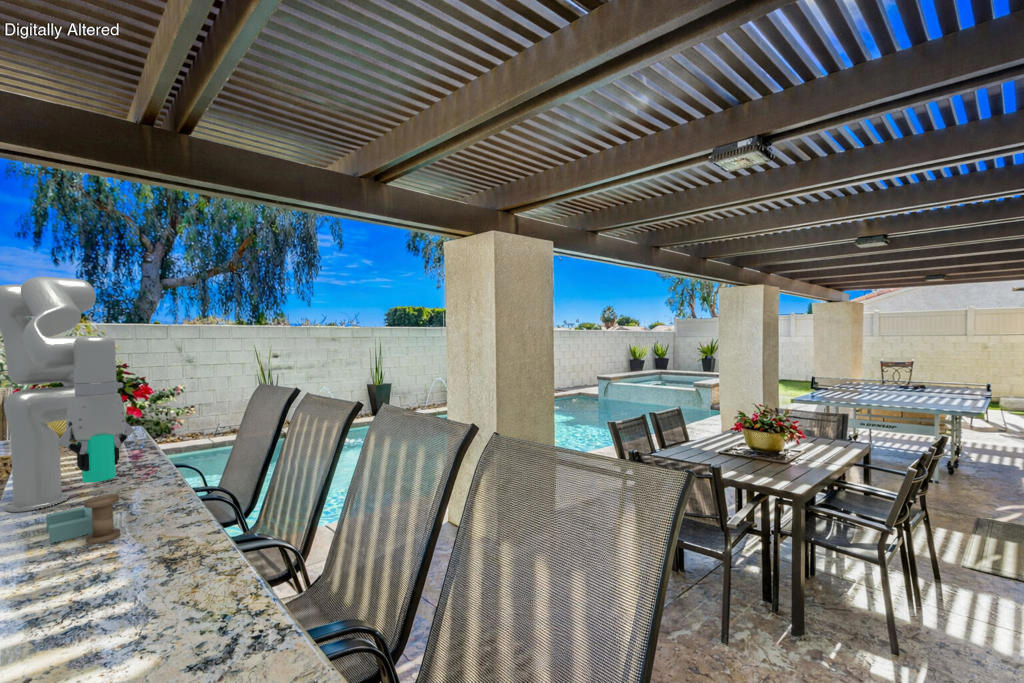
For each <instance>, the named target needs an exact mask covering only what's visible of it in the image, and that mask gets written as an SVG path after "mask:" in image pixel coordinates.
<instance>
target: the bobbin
mask: <svg viewBox="0 0 1024 683" xmlns="http://www.w3.org/2000/svg"><path fill="white" fill-rule="evenodd" d="M119 501H120V494H119V493H118V494H117V493H111V494H109V493H108V494H102V495H97V496H94V497H90V498H87V499H85V500H84V501H83V507H86V508H92V530H93V533H91V534H89V535H85V543H86V544H87V543H88V545H95V544H96V545H97V543H98V544H102V543H106V542H107V543H108V542H110V541H113V540H115V539H117V538H119V537H120V536H121V529H120V528H116V527H115V528H114V508H113V506H114V504H116V503H118V502H119Z"/></svg>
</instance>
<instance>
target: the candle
mask: <svg viewBox="0 0 1024 683" xmlns="http://www.w3.org/2000/svg"><path fill="white" fill-rule="evenodd" d="M114 448H115V444H114V435H101V436H93V437H91V438H90V440H88V441H87V451H86V453H85V454H89V471H82V470H81V479H82V483H99V482H104V481H109V480H112V479H114V478H115V477H116V476H117V471H116V470H117V469H116V465H115V453H114Z"/></svg>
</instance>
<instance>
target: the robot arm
mask: <svg viewBox="0 0 1024 683" xmlns="http://www.w3.org/2000/svg"><path fill="white" fill-rule="evenodd" d="M96 296H97V295H96V291H95V289H94V287H93V285H91V284H90V282H89V281H87V280H85V279H81V278H69V277H68V278H67V277H66V278H65V277H53V276H36V277H32V278H29V279H27V280H25V281H24V282H23V283H22V284H20V283H19V284H4V285H2V284H1V285H0V334H1V336H2V341H3V347H4V356H5V363H6V369H7V370H6V371H7V374H8V377H9V379H10V381H11V382H12V383H14V384H16V385H22V386H23V385H44V384H45V385H46V384H54V383H55V384H56V383H60V384H62V385H63V386H56V387H55V386H54V387H50V386H49V387H39V388H28V389H23V390H18V391H15V392H13V393H11V394H9V395H8V396H7V397H6V398H5V400H4V403H3V410H4V414H5V418H6V421H7V425H8V426H7V427H8V430H9V437H10V438H9V441H10V454H11V456H10V457H11V475H12V476H11V477H12V478H11V479H12V497H13V498H12V499H13V501H10V502H8V503H7V504H6V505H5V506H4V510H5V511H6V512H10V513H18V512H19V513H21V512H29V511H36V510H40V509H39V508H41V509H45V508H44V507H46V508H48V507H47V506H50V507H52V506H51V505H53V504H56V503H59V502H62V501H65V500H66V501H68V500H69V499H70V493H68V492H62V490H63V489H62V488H63V487H62V473H61V472H62V469H61V468H62V467H61V466H62V465H61V447H64V448H66V449H68V450H71V451H72V452H73V453H75V454H76V463H77V464H76V466H77V468H78V469H79V470H80V471H81V472H82V471H89V454H85V453H86V451H87V441H88V440H90V438H91V437H93V436H101V435H114V444H115V448H114V453H115V466H117V465H118V463H119V462H118V461H119V460H120V448H121V447H122V444H123V443H124V442H125V441H126V440H127V438H128V437H130V435H132V434H133V433H134V432H135V429H134V427H133V426H131V424H129V423H128V422H127V420H126V412H125V407H124V402H123V399H122V396H121V393H118V392H119V389H122V388H124V383H123V382H119V381H118V380H117V360H116V358H117V357H116V356H117V353H116V351H117V350H116V342H115V340H114V339H113V338H111V337H108V336H98V335H82V336H81V335H73V336H71V335H70V336H69V335H67V336H65V335H63V336H62V335H60V334H62V333H66V332H68V331H71V330H72V329H73V328H75V327H76V326H77V325H79V323H80V321H81V319H82V313H85V312H87V311H89V310H91V309H92V308H93V307H94V305H95V303H96V298H97V297H96ZM29 317H32V318H29ZM57 335H58V336H57ZM59 421H60V422H61V421H65V431H64V433H62V435H61V436H59V435H58V434H57V432H55V431H54V430H53V429H52V428H50V426H48V425H47V424H49V423H53V422H59ZM70 440H73V441H74V440H75V441H76V442H75V443H74V442H71V441H70ZM68 498H69V499H68ZM67 499H68V500H67ZM66 501H65V502H66ZM62 503H63V502H62ZM53 506H54V505H53ZM35 509H36V510H35Z"/></svg>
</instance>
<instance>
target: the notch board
mask: <svg viewBox="0 0 1024 683" xmlns="http://www.w3.org/2000/svg"><path fill="white" fill-rule="evenodd" d="M45 520H46V532H47V531H48V536H49V537H48V538H49V540H48V541H49V544H50V543H51V544H55V543H54V542H56V543H59V541H60V542H64V541H68V540H72V539H75V537H76V538H79V537H78V536H81V537H83V536H82V535H85V536H87V535H86V534H91V533H93V530H92V508H86V507H84V506H81V507H76V508H72V509H66V510H61V511H57V512H52V513H47V514H45Z"/></svg>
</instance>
